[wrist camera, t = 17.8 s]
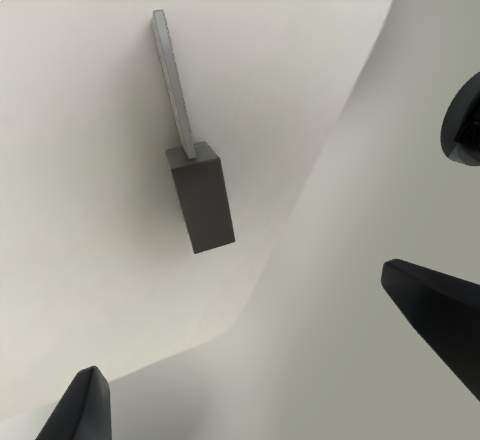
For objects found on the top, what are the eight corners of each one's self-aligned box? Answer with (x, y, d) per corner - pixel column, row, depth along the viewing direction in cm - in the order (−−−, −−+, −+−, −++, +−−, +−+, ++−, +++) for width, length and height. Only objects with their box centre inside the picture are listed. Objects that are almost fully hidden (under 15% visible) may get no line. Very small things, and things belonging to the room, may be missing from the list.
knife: (185, 224, 19) (194, 254, 16) (128, 23, 13) (125, 10, 10) (220, 214, 19) (235, 242, 16) (179, 16, 14) (191, 1, 11)
